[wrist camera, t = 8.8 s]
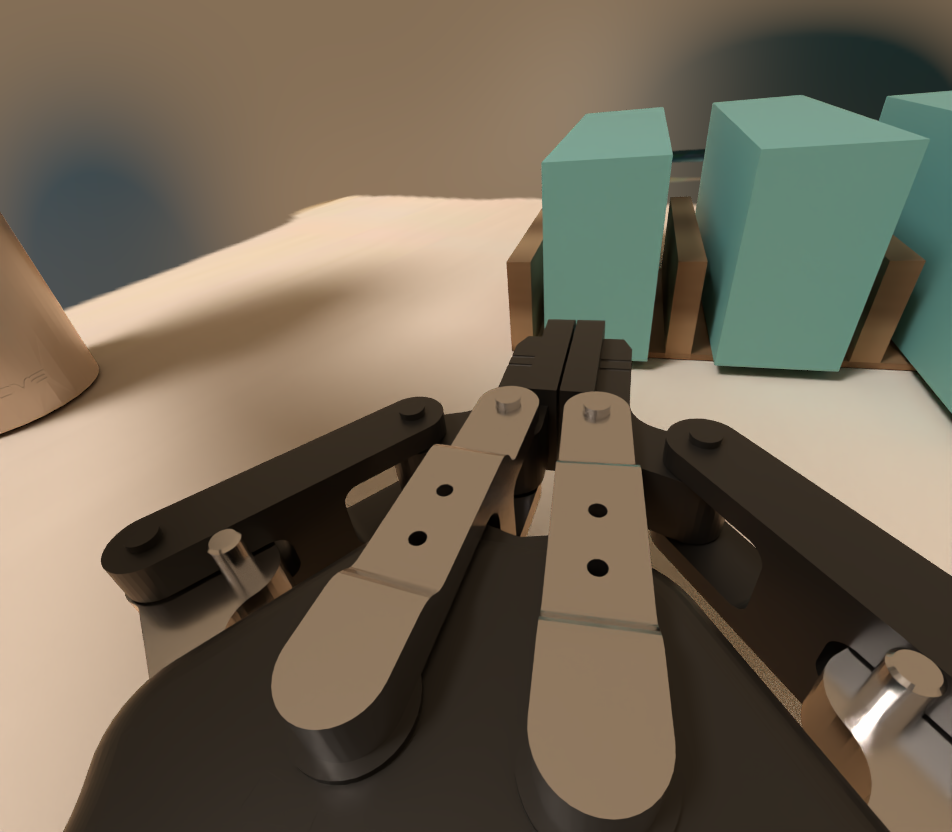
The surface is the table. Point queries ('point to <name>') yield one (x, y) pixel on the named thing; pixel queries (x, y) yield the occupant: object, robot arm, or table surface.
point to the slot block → (681, 288)
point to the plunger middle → (796, 226)
